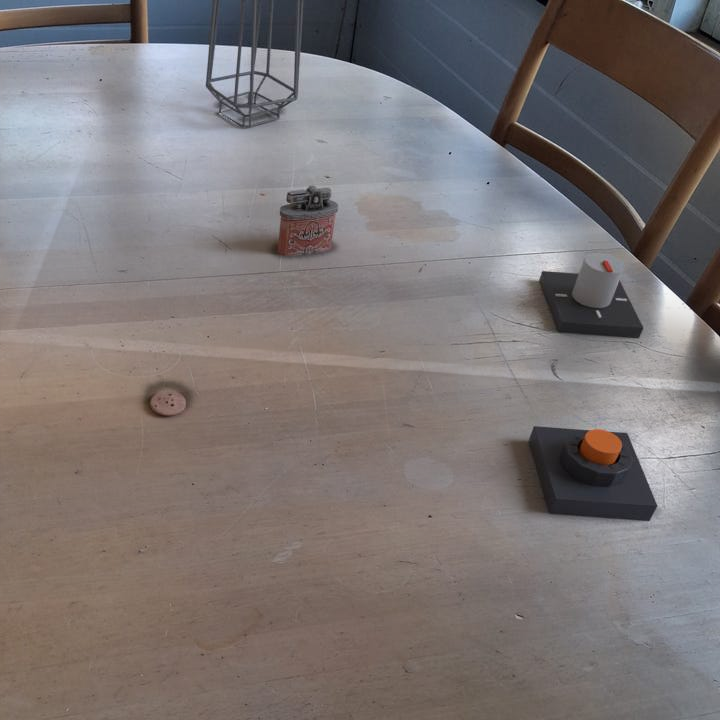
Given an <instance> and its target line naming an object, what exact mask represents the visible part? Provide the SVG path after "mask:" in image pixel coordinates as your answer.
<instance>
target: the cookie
mask: <svg viewBox="0 0 720 720" xmlns="http://www.w3.org/2000/svg"><path fill="white" fill-rule="evenodd" d="M149 405H150V408H151V410H153V412H155V413H156V414H159V415H161V416H168V417H169V416H171V417H172V416H175V415H178V414H179V413H182V412H183V411H184V410H185V408H186V406H187V401H186V399H185V397H184V396H183V395H182V394H180V393H179V392H176V391H170V390H169V391H167V390H165V391H160V392H157V393H156V394H154V395H153V396H152V397H151V399H150V403H149Z"/></svg>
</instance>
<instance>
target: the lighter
mask: <svg viewBox="0 0 720 720" xmlns="http://www.w3.org/2000/svg"><path fill="white" fill-rule="evenodd" d="M332 191H333V190H332V189H331V187H321V188H317V186H315V185H310V186H308V187H307V189H296V190H289V191H288V192H286V200H285V201H286V203H287V204H284V205H281V206H280V208H279V216H280V221H279V230H278V231H279V232H278V242H277V253H278V254H280V255H281V256H285V257H286V256H287V257H290V256H303V255H311V254H316V253H321V252H324V251H328V250H331V248H332V245H333V244H332V242H333V236H334V228H335V221H336V216H337V215H336V214H337V213H338V211H339V204H338V202H336V201H334V200H331V198H332V193H333V192H332Z"/></svg>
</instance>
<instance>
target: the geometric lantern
mask: <svg viewBox="0 0 720 720" xmlns="http://www.w3.org/2000/svg"><path fill="white" fill-rule="evenodd" d="M262 4H263V0H258V3H257V0H252V15H251V16H252V18H251V19H252V20H251V47H250V48H251V49H250V50H251V51H250V70H249V71H243V72H240V71H241V61H242V60H241V59H242V47H243V36H244V24H245V23H244V22H245V11H246V0H241V10H240V22H239V33H238V46H237V58H236V69H235V73H234V74H228V75H225V76H219V77H213V78H212V76H213V67H214V61H215V60H214V59H215V52H216V51H215V49H216V41H217V32H218V25H219V15H220V5H221V0H212V8H211V17H210V18H211V19H210V30H209V45H208V55H207V66H206V79H205V88H206V89H207V90H208V91H209V92H210V93H211V95H213V97H214V98H215V99H216V100H217V101H218V104H219V106H218V108H219V109H218V111H219V113H221V114H222V112H221V110H222V109H223V106H224V107H227V108H230V109H231V110H232V111H234V112H235V113H236V114H238V115H240V116H242V123H240V122H238V121H236V120H234V119H232V118H231V117H229V116H227V115H225V114H223V116H225V117H227V118H228V119H230V120H232V121H233V122H235V123H236V124H235V123H234V124H235V125H237V124H238V125H237V126H239V127H241V128H242V127H245V128H253V127H255V126H260V125H263V124H267V123H270V122H271V123H272V122H275V121H277V120H280V119H281V109H283V108H285V107H286V106H288V105H290V104H291V103H293V102H294V101H297V100H298V97H299V83H300V65H301V47H302V46H301V45H302V31H303V14H304V11H303V10H304V0H295V29H294V30H295V34H294V64H293V65H294V69H293V70H294V72H293V87H292V86H291V85H288V84H287V83H285V82H284V81H281V80H280V79H278V78H277V77H275V76H274V75H272V74H271V73H270V69H271V67H270V66H271V65H270V64H271V51H272V49H271V48H272V32H273V31H272V30H273V28H272V27H273V15H274V0H269V15H268V16H269V17H268V34H267V36H268V37H267V52H266V54H267V55H266V67H265V68H266V70H265V72H262V71H258V70H255V68H256V67H255V66H256V58H257V49H258V40H259V32H260V23H261V22H260V21H261V14H262ZM255 75H257V76H261V77H263V78H262V79H261V81H260V82H259V84H258V86H257V88H256V90H255V91H254V87H255V86H254V83H255V81H254V80H255ZM245 76H249V90H248V91H245V92H241V93H239V82H240V77H245ZM234 78H235V80H234V92H233V95H230V96H226V95H224V94H223V93H221V92H220V91H218V90H217V89H216V88H215V87H214V86H213V84H212V83H214V82H219V81H224V80H229V79H234ZM266 78H269V79H270V80H272V81H274V82H275V83H277V84H279V85H280V86H282V87H284V88H286V89H287V90H289V91H291V92H292V93H291V94H290V95H288V96H287V97H286V98H282V99H275V100H272V99H270V98H268V97H267V96H265V95H262V94H260V93H259V91H260V89H261V87H262V85H263V83H264V82H265V80H266ZM245 95H247V97H248V98H247V102H246V103H238V98H239V97H242V96H245ZM257 97H260V98H261V99H263V100H265V101H264V102H258V103H257ZM232 99H233V100H232ZM229 104H230V105H229ZM271 105H276V107H274V108H270V109H268V108H266V106H271ZM233 107H235V109H234V108H233ZM241 108H242V109H248V114H245V113H244V112H243V111H242V110H241ZM254 108H255V109H256V108H260V109H262V111H257V112H254V113H252V109H254ZM275 111H277V112H275ZM219 113H218V114H219ZM266 113H270V114H271V115H274V116H275V117H273V118H270V119H265V120H263V121H259V122H255V123H252V119H253V116H258V115H262V114H266ZM246 118H248V124H246ZM228 119H227V120H228ZM230 120H229V121H230ZM233 122H232V123H233Z"/></svg>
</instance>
